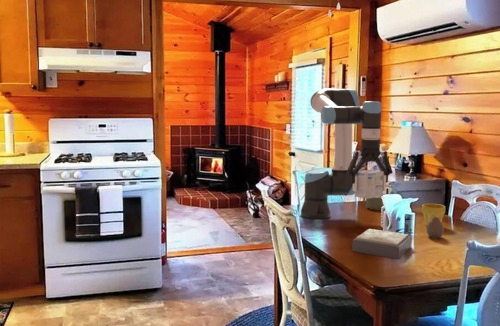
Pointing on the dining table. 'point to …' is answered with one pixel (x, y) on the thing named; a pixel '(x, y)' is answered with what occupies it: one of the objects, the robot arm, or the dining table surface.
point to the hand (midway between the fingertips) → (369, 190)
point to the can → (374, 203)
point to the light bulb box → (369, 184)
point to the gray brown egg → (435, 228)
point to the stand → (382, 243)
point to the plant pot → (432, 212)
